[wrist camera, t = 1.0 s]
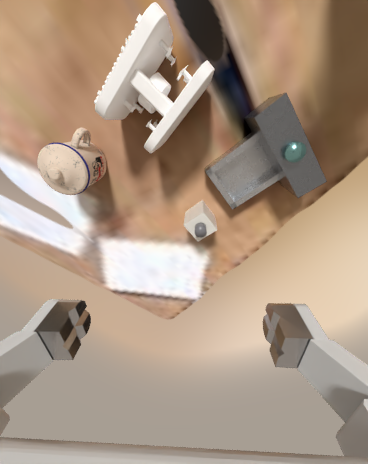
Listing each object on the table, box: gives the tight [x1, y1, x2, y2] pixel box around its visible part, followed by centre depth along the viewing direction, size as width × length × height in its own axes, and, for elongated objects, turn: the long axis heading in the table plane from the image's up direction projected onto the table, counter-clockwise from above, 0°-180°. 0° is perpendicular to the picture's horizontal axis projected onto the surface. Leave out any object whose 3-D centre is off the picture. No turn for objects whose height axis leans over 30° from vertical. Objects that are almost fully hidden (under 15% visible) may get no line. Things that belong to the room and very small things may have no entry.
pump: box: [184, 200, 217, 242], centre depth 43 cm, size 5×5×9 cm
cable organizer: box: [94, 2, 215, 154], centre depth 31 cm, size 15×11×12 cm
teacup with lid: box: [37, 128, 106, 195], centre depth 37 cm, size 12×9×12 cm
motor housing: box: [205, 93, 327, 210], centre depth 37 cm, size 16×16×9 cm
